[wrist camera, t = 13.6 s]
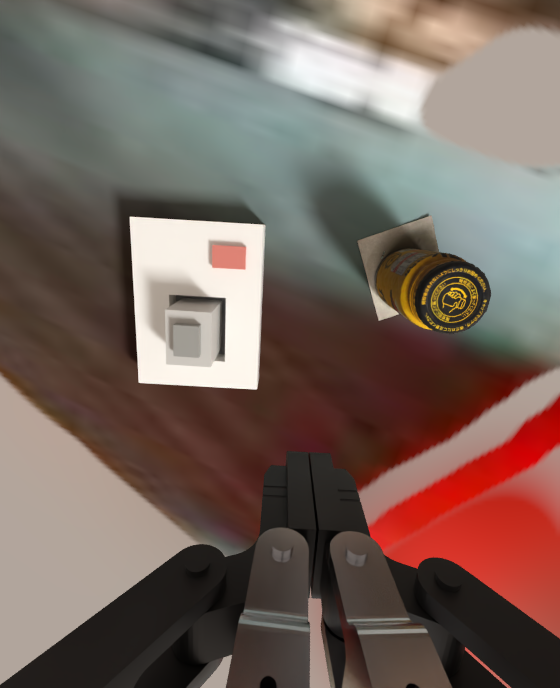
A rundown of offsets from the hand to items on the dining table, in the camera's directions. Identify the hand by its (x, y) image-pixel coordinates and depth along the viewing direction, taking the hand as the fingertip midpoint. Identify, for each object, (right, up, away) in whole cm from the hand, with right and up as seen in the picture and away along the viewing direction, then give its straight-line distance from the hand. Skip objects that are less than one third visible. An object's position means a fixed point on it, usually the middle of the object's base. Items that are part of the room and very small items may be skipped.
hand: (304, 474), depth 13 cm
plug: (-9, +7, +26) cm, 28 cm away
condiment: (+11, +12, +25) cm, 30 cm away
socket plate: (-9, +9, +26) cm, 28 cm away
